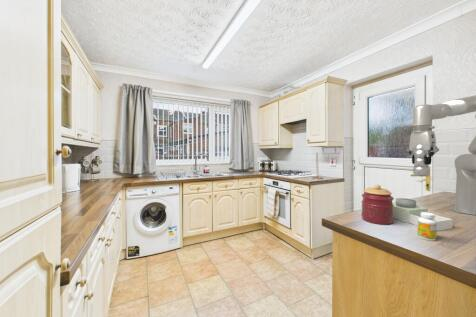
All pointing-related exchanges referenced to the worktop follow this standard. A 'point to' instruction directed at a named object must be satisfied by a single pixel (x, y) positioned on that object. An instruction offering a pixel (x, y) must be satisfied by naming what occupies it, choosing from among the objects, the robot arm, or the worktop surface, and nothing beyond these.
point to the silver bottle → (420, 161)
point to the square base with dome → (416, 214)
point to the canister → (377, 206)
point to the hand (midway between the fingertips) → (421, 163)
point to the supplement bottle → (427, 226)
